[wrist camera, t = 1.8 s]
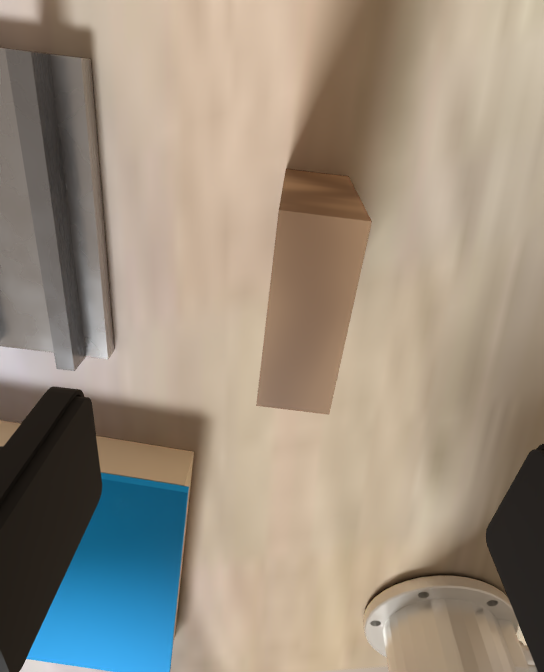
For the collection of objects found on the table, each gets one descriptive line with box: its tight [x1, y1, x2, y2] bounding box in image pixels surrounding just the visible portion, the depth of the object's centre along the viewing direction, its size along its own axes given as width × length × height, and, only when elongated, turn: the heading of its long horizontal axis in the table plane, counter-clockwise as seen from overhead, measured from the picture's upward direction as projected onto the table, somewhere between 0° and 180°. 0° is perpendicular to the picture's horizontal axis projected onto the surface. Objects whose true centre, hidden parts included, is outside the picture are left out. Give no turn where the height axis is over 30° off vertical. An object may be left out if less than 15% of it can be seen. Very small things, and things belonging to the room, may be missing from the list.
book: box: [0, 420, 194, 672], centre depth 35 cm, size 17×4×25 cm
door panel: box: [256, 169, 372, 414], centre depth 20 cm, size 3×8×8 cm, turn 174°
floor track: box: [0, 48, 114, 371], centre depth 22 cm, size 15×9×2 cm, turn 174°
